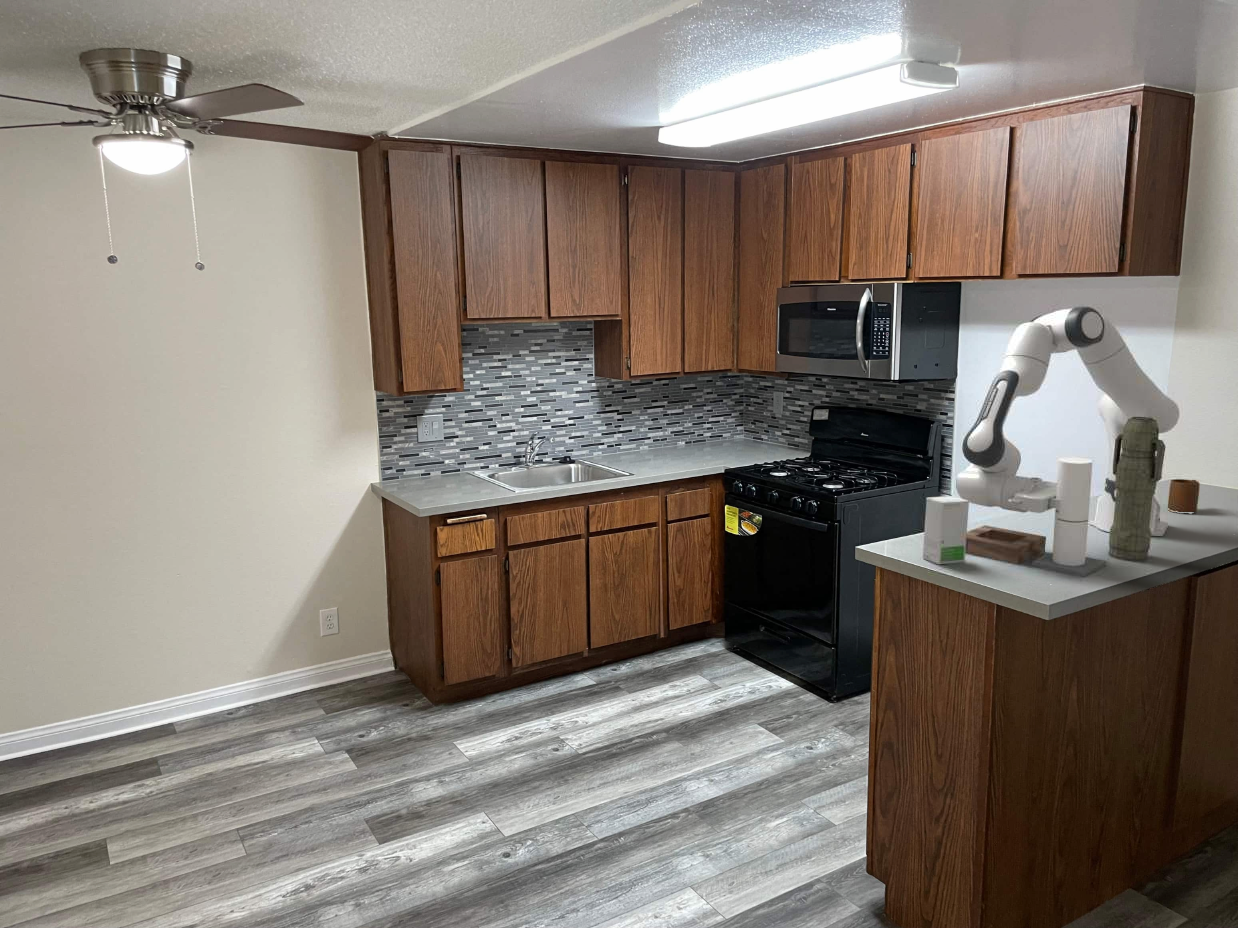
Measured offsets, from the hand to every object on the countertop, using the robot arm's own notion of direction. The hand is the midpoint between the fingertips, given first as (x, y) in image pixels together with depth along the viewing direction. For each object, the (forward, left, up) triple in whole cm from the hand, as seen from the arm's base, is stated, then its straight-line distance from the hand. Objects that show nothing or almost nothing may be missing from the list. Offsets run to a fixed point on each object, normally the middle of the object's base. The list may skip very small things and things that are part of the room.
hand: (1078, 503), depth 216 cm
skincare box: (+18, -24, -16) cm, 34 cm away
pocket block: (0, -18, -16) cm, 24 cm away
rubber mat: (0, -1, -16) cm, 16 cm away
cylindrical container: (0, -1, -15) cm, 15 cm away
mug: (-86, 0, -16) cm, 87 cm away
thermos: (-19, +6, -16) cm, 25 cm away
